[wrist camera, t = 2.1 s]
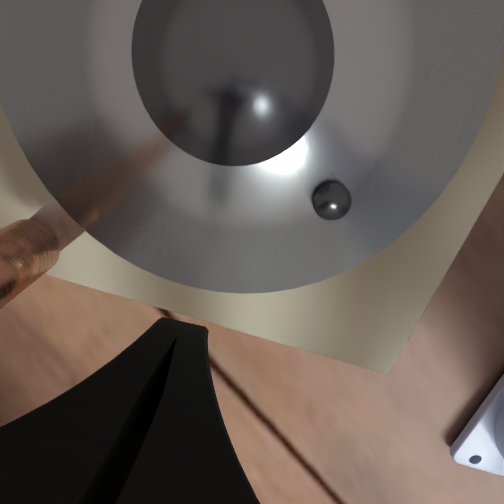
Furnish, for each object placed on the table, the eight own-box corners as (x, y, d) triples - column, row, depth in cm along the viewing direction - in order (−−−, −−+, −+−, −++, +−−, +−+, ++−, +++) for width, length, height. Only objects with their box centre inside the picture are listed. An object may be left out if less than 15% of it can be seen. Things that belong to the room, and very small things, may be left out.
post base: (654, -162, 9) (814, -268, 7) (377, 349, 15) (400, 405, 13) (-1, -442, 8) (-138, -714, 5) (-24, 230, 14) (-96, 263, 11)
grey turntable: (300, -462, 7) (334, -1131, 3) (563, 117, 10) (732, 131, 6) (-132, 83, 11) (-349, 78, 7) (162, 371, 14) (123, 473, 10)
